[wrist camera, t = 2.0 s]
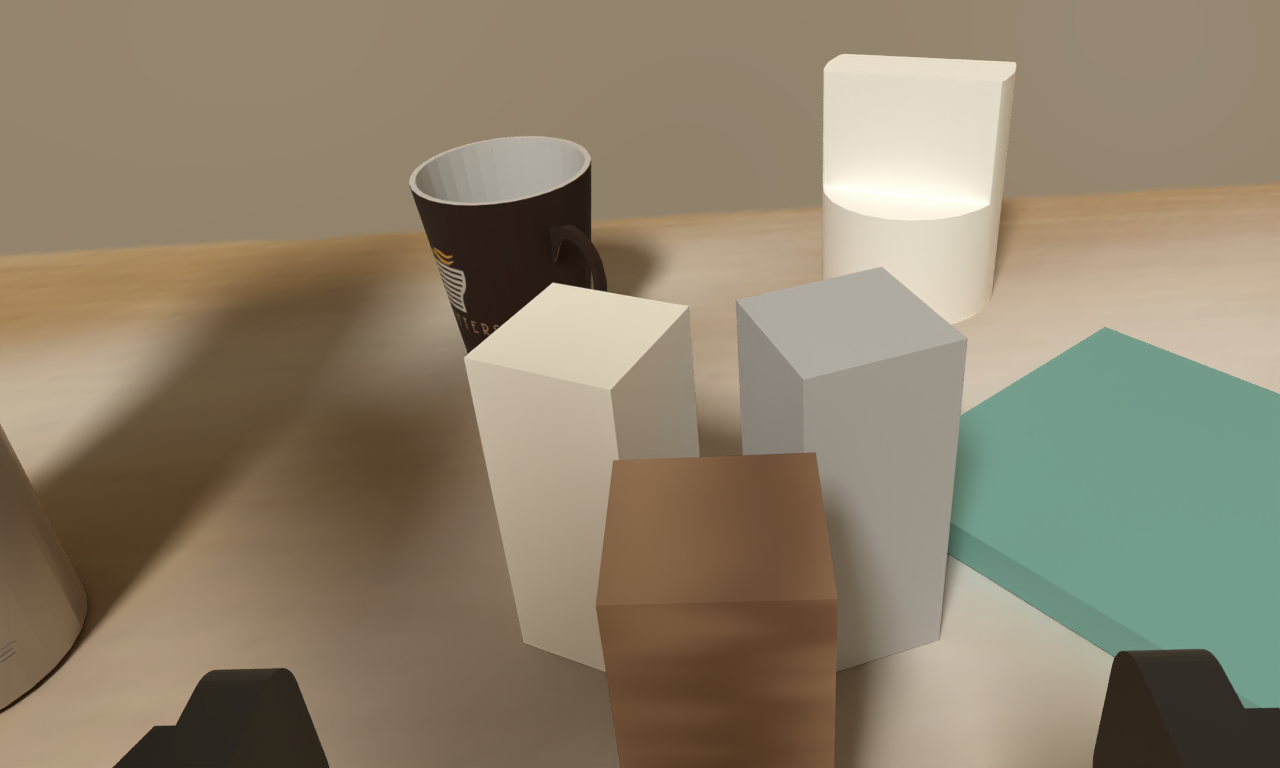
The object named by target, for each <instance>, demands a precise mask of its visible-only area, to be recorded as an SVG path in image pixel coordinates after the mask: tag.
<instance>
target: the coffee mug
mask: <svg viewBox="0 0 1280 768" xmlns="http://www.w3.org/2000/svg"><path fill="white" fill-rule="evenodd" d="M409 185H410V188H411V191H412V194H413V197H414V200H415V203H416V206H417V208H418V211H419V214H420V217H421V220H422V223H423V226H424V229H425V231H426V234H427V237H428V240H429V243H430V246H431V249H432V252H433V254H434V257H435V260H436V263H437V266H438V269H439V272H440V275H441V277H442V280H443V283H444V286H445V289H446V292H447V295H448V298H449V300H450V303H451V306H452V309H453V312H454V315H455V318H456V320H457V323H458V326H459V329H460V332H461V335H462V338H463V341H464V343H465V346H466V349H467V352H468V354H469V353H470V352H471V351H472V350H473V349H475V348H476V347H477V346H478V345H479V344H480V343H482V342H483V341H484V340H485V339H486V338H488V337H489V336H490V335H491V334H492V333H494V332H495V331H496V330H497V329H498V328H500V327H501V326H502V325H503V324H504V323H505V322H507V321H508V320H509V319H510V318H511V317H513V316H514V315H515V314H516V313H517V312H519V311H520V310H521V309H522V308H523V307H525V306H526V305H527V304H528V303H529V302H530V301H532V300H533V299H534V298H535V297H536V296H538V295H539V294H540V293H541V292H542V291H544V290H545V289H546V288H547V287H548V286H549V285H551V284H552V283H557V284H563V285H569V286H575V287H580V288H586V289H591V272H592V276H593V281H594V290H598V291H603V292H607V281H606V276H605V272H604V268H603V264H602V261H601V258H600V256H599V254H598V252H597V250H596V249H595V247H594V245H593V244H592V242H591V157H590V154H589V152H588V151H587V150H586V149H585V148H584V147H582V146H580V145H579V144H577V143H574V142H571V141H568V140H564V139H559V138H554V137H542V136H518V137H504V138H496V139H489V140H484V141H479V142H474V143H471V144H467V145H463V146H459V147H456V148H453V149H451V150H448V151H445V152H442V153H440V154H438V155H436V156H434V157H432V158H430V159H428V160H427V161H425V162H424V163H422V164H421V165H420V166H418V167H417V168H416V169H415V170H414V171H413V173H412V175H411V176H410V179H409Z"/></svg>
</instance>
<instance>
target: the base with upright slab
mask: <svg viewBox="0 0 1280 768" xmlns="http://www.w3.org/2000/svg"><path fill="white" fill-rule="evenodd" d="M1015 73H1016V63H1015V62H1000V61H978V60H959V59H958V60H957V59H938V58H917V57H916V58H915V57H895V56H876V55H855V54H853V55H852V54H842V55H839V56H837V57H836V58H834V59H832V60H831V61H829V62H828V63H827V65H826V66H825V68H824V72H823V82H824V83H823V85H824V86H823V213H822V280H826V279H830V278H834V277H839V276H843V275H848V274H852V273H856V272H861V271H865V270H869V269H874V268H878V267H883V268H884V269H885V270H886V271H888V272H889V273H890V274H891V275H892V276H894V277H895V278H896V279H897V280H898V281H899V282H901V283H902V284H903V285H904V286H905V287H907V288H908V289H909V290H910V291H911V292H913V293H914V294H915V295H916V296H917V297H918V298H920V299H921V300H922V301H923V302H924V303H926V304H927V305H928V306H929V307H930V308H931V309H933V310H934V311H935V312H936V313H937V314H939V315H940V316H941V317H942V318H943V319H945V320H946V321H947V322H948V323H949V324H950V325H951V324H954V323H957V322H960V321H963V320H965V319H968V318H970V317H972V316H974V315H975V314H977V313H978V312H980V311H982V310H983V309H984V308H985V307H986V305H987V304H988V303H989V301H990V300H991V296H992V289H993V280H994V270H995V261H996V252H997V242H998V233H999V223H1000V214H1001V205H1002V195H1003V186H1004V177H1005V167H1006V157H1007V148H1008V139H1009V129H1010V120H1011V110H1012V101H1013V92H1014V83H1015Z"/></svg>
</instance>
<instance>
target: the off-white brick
mask: <svg viewBox="0 0 1280 768" xmlns="http://www.w3.org/2000/svg"><path fill="white" fill-rule="evenodd" d="M464 361H465V366H466V371H467V376H468V380H469V385H470V390H471V395H472V400H473V404H474V409H475V414H476V419H477V423H478V428H479V433H480V438H481V442H482V447H483V452H484V457H485V462H486V466H487V471H488V476H489V481H490V485H491V490H492V495H493V500H494V504H495V509H496V514H497V519H498V523H499V528H500V533H501V538H502V543H503V547H504V552H505V557H506V562H507V566H508V571H509V576H510V581H511V585H512V590H513V595H514V600H515V604H516V609H517V614H518V619H519V624H520V628H521V633H522V638H523V643H525V644H528V645H531V646H534V647H536V648H539V649H542V650H545V651H548V652H550V653H553V654H556V655H559V656H562V657H564V658H567V659H570V660H573V661H575V662H578V663H581V664H584V665H587V666H589V667H592V668H595V669H598V670H601V671H603V672H606V670H605V663H604V657H603V650H602V644H601V637H600V631H599V625H598V618H597V612H596V598H597V590H598V581H599V573H600V565H601V557H602V548H603V540H604V532H605V523H606V515H607V507H608V498H609V490H610V482H611V473H612V465H613V460H636V459H661V458H686V457H700V454H699V439H698V425H697V411H696V397H695V383H694V369H693V355H692V341H691V326H690V312H689V306H684V305H678V304H672V303H666V302H661V301H655V300H649V299H643V298H638V297H632V296H626V295H621V294H615V293H609V292H603V291H598V290H592V289H586V288H580V287H575V286H569V285H563V284H557V283H552V284H551V285H549V286H548V287H547V288H546V289H545V290H544V291H542V292H541V293H540V294H539V295H538V296H536V297H535V298H534V299H533V300H532V301H530V302H529V303H528V304H527V305H526V306H525V307H523V308H522V309H521V310H520V311H519V312H517V313H516V314H515V315H514V316H513V317H511V318H510V319H509V320H508V321H507V322H505V323H504V324H503V325H502V326H501V327H500V328H498V329H497V330H496V331H495V332H494V333H492V334H491V335H490V336H489V337H488V338H486V339H485V340H484V341H483V342H482V343H480V344H479V345H478V346H477V347H476V348H475V349H473V350H472V351H471V352H470V353H469V354H467V355H466V356H465V357H464Z"/></svg>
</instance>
